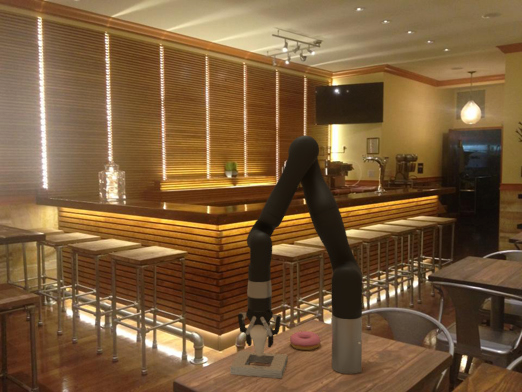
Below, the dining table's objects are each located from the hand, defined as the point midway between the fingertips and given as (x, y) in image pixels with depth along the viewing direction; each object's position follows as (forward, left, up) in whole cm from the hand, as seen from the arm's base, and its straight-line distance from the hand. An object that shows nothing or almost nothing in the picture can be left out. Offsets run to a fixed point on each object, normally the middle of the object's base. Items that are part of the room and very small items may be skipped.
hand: (259, 345), depth 151 cm
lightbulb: (0, 0, -4) cm, 4 cm away
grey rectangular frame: (0, 0, -7) cm, 7 cm away
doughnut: (-12, -21, -8) cm, 25 cm away
